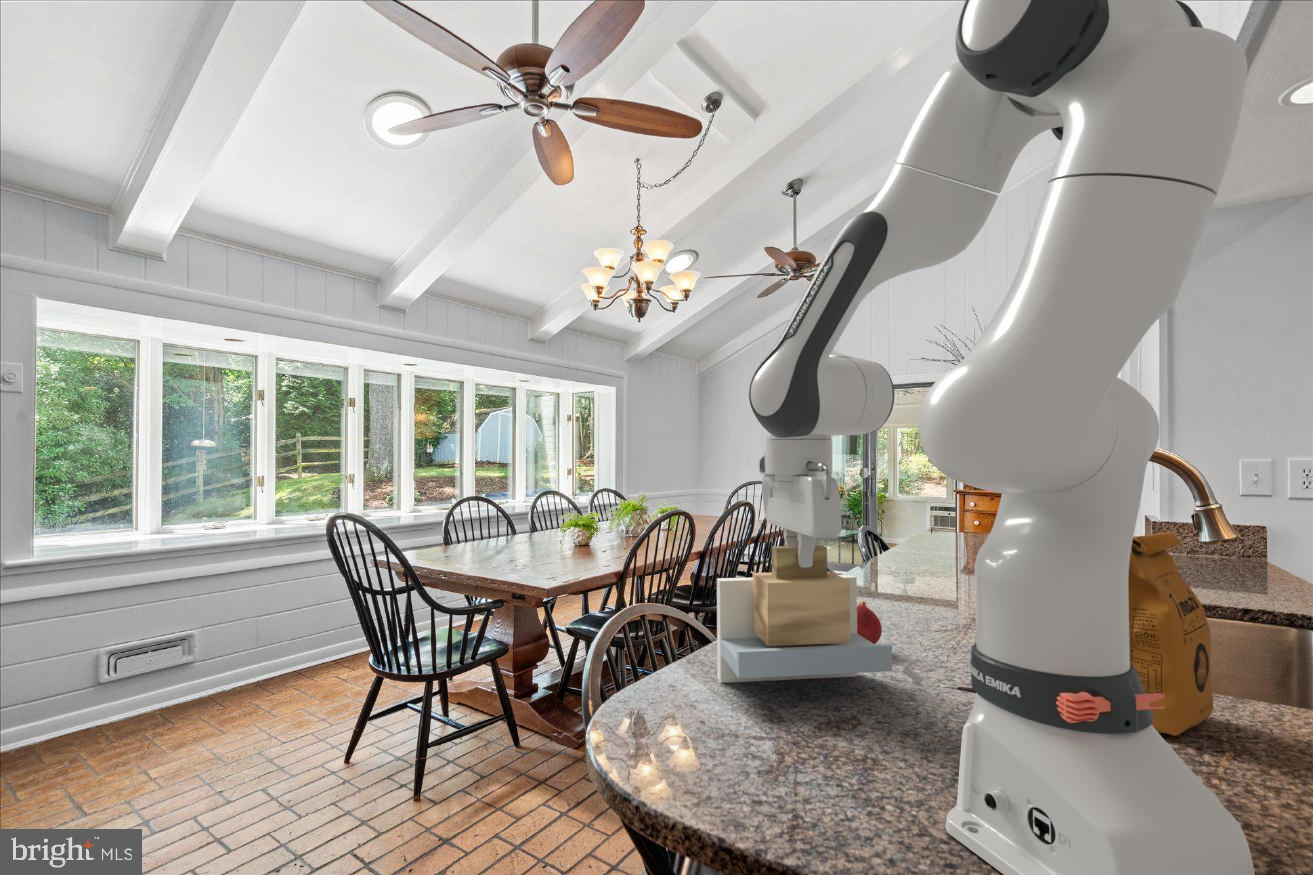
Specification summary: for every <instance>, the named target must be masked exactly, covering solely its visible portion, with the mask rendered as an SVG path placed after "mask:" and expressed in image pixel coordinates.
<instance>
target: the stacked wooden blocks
mask: <svg viewBox="0 0 1313 875" xmlns="http://www.w3.org/2000/svg"><path fill="white" fill-rule="evenodd" d="M798 547H799V546H786V545H782V546H781V545H780V546H779V545H777V546H774V545H773V546H771V572H752V578H753V632H754V633H755V634H756V635H758V636H759V637H760V638H761V639H762V640H763V641H764V642H765V643H766V644H767V645H768V646H782V645H806V644H831V643H850V581H849V580H847V579H845V578H843V577H840V576H838V575H839V574H836V573H833V572H831V571H829V570H828V547H827V546H823V545H817V544H816V545H815V549H814V552H813V565H812V566H811V567H804V568H802V567H800V566H798V565H797V564H796V553H797V552H798Z"/></svg>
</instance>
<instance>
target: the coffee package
mask: <svg viewBox="0 0 1313 875" xmlns="http://www.w3.org/2000/svg"><path fill="white" fill-rule="evenodd" d="M1180 544H1181V541H1180V539H1179V538H1178V537H1177V536H1176V535H1175V534H1174V533H1173V532H1172V531H1165V532H1157V533H1151V534H1145V535H1139V536H1136V535H1134V536H1133V541H1132V547H1131V554H1130V563H1129V576H1128V595H1129V638H1130V664H1132V665H1133V666H1134V668H1135V669H1136V671H1137V674H1138V676H1139V679H1140V681H1141V684H1142V687H1143V689H1144V692H1145V694H1155V693H1161V694H1163V695H1164V698H1162V699H1159V700H1157V701H1151V702H1150V703H1149V705H1162V706H1165V708H1164V709H1153V710H1151V712H1152V715H1153V718H1154V721H1153V723H1152V725H1153V727H1154V728H1155V729H1156V731H1157V732H1158V733H1159V734H1161V733H1162V734H1168V735H1171V736H1179V735H1181V734H1182V733H1183V732H1185V731H1187V730H1188V729H1191V728H1192V727H1196V726H1198V725H1199V724H1201V723H1202V722H1203V721H1204V720H1207V718H1209V717H1210V716H1211V714H1212V713H1213V710H1214V700H1213V691H1212V690H1213V688H1212V686H1213V685H1212V673H1211V656H1212V655H1211V654H1212V651H1211V650H1212V649H1211V648H1212V647H1211V646H1212V643H1211V642H1212V639H1211V629H1210V628H1211V627H1210V626H1209V621H1208V619H1207V615H1206V613H1205V610H1204V608H1203V605H1202V603H1201V601H1200V600H1199V598H1198V597H1197V595H1196V594H1195V592H1194V591H1193V590H1192V587H1190V585H1189V584H1188V583H1187V582H1186V581H1185V579H1184V578H1183V577H1182V576H1181V575H1180V573H1179V570H1178V567H1177V565H1176V562H1175V561H1174V558H1173V556H1172V555H1171V554H1170V553H1169V552H1168V551H1167V550H1170V549H1172V548H1176V547H1177V546H1179V545H1180Z"/></svg>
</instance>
